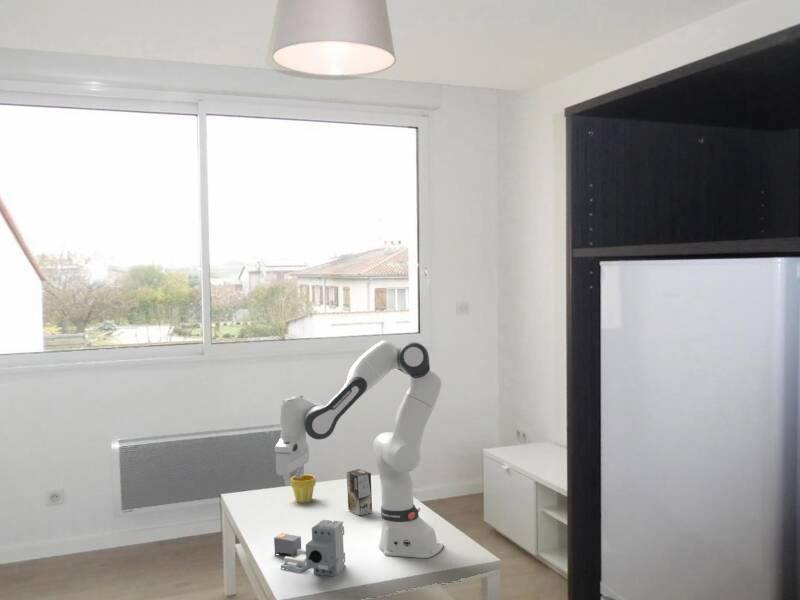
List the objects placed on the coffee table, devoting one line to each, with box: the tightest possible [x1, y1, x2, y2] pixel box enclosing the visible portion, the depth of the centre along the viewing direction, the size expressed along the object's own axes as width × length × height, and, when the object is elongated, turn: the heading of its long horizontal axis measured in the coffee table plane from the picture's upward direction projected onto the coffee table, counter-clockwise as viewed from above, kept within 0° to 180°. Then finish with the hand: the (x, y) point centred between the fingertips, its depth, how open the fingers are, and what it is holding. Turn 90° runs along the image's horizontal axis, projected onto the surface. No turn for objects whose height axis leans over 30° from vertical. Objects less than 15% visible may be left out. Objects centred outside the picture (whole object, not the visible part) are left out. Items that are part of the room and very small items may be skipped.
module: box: [273, 532, 302, 557], centre depth 254 cm, size 8×4×6 cm, turn 63°
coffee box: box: [346, 468, 373, 516], centre depth 295 cm, size 9×6×16 cm
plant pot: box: [290, 474, 316, 504], centre depth 312 cm, size 10×10×10 cm
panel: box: [280, 548, 308, 573], centre depth 246 cm, size 8×14×3 cm, turn 153°
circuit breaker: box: [305, 519, 346, 577], centre depth 236 cm, size 8×14×15 cm, turn 159°
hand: (293, 481), depth 258 cm, fingers open, 8 cm apart
